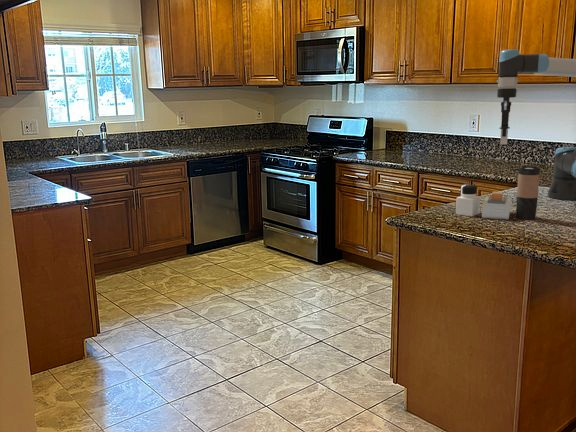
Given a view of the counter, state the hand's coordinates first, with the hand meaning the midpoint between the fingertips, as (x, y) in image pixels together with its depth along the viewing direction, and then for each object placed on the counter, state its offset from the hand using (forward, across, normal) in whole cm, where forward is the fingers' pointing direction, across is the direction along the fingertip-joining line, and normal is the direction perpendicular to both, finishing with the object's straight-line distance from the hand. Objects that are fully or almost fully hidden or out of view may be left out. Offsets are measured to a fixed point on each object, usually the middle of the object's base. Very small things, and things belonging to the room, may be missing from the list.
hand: (503, 144), depth 243 cm
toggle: (+20, +25, 0) cm, 32 cm away
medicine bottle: (+27, +24, -11) cm, 37 cm away
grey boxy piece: (+26, +22, 0) cm, 34 cm away
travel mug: (+27, +24, +11) cm, 37 cm away
